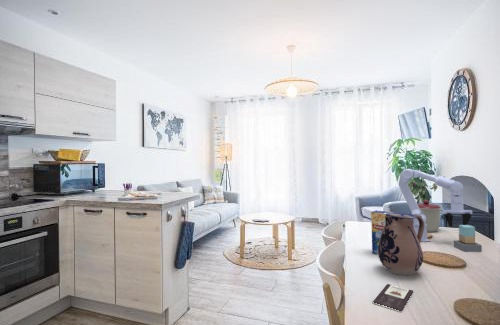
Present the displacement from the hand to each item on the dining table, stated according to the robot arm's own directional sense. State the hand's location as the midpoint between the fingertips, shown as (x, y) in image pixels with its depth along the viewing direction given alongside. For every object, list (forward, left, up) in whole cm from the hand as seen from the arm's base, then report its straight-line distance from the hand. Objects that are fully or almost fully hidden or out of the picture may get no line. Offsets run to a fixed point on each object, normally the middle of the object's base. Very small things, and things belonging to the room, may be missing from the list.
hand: (457, 226), depth 156 cm
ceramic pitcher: (-46, -41, -11) cm, 63 cm away
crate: (0, -8, -10) cm, 13 cm away
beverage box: (-46, -19, -11) cm, 51 cm away
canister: (-1, +33, -11) cm, 35 cm away
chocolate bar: (-59, -66, -11) cm, 90 cm away
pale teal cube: (0, -8, -3) cm, 9 cm away
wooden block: (0, -8, -10) cm, 13 cm away
